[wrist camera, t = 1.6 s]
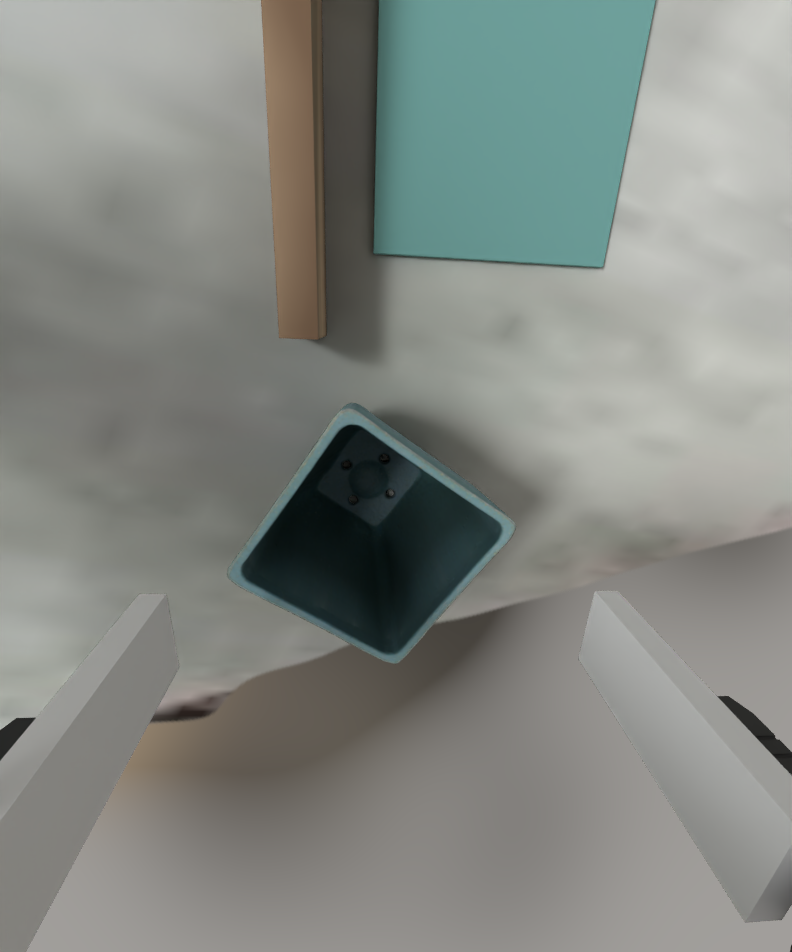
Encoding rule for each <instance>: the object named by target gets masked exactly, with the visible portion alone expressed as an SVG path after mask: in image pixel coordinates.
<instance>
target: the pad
mask: <svg viewBox="0 0 792 952" xmlns="http://www.w3.org/2000/svg"><path fill="white" fill-rule="evenodd" d="M654 5H655V0H379V18H378V65H377V111H376V158H375V205H374V251H373V254H382V255H399V256H415V257H431V258H448V259H464V260H480V261H497V262H513V263H529V264H546V265H562V266H578V267H595V268H600V267H603V264H604V259H605V254H606V249H607V244H608V239H609V234H610V229H611V224H612V219H613V214H614V209H615V204H616V198H617V193H618V188H619V183H620V178H621V173H622V168H623V163H624V158H625V153H626V148H627V143H628V137H629V132H630V127H631V122H632V117H633V112H634V107H635V102H636V97H637V92H638V87H639V82H640V77H641V71H642V66H643V61H644V56H645V51H646V46H647V41H648V36H649V31H650V26H651V21H652V16H653V10H654Z"/></svg>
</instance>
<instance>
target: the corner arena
mask: <svg viewBox="0 0 792 952" xmlns="http://www.w3.org/2000/svg"><path fill="white" fill-rule="evenodd" d="M261 6H262V25H263V44H264V63H265V81H266V100H267V119H268V138H269V157H270V175H271V194H272V213H273V232H274V251H275V269H276V288H277V307H278V326H279V338H291V339H315V340H318V339H320V338H322V337H324V336H326V335H327V324H326V256H325V189H324V122H323V54H322V0H261Z"/></svg>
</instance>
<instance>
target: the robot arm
mask: <svg viewBox="0 0 792 952" xmlns="http://www.w3.org/2000/svg"><path fill="white" fill-rule="evenodd" d="M578 659H579V661H580V663H581V664H582V665H583V667H584V669H585V670H586V672H587V674H588V675H589V677H590V678H591V680H592V682H593V683H594V685H595V686H596V688H597V689H598V691H599V693H600V694H601V696H602V697H603V699H604V700H605V702H606V704H607V705H608V707H609V708H610V710H611V712H612V713H613V715H614V716H615V718H616V719H617V721H618V723H619V724H620V726H621V727H622V729H623V731H624V732H625V734H626V735H627V737H628V738H629V740H630V742H631V743H632V745H633V746H634V748H635V750H636V751H637V753H638V754H639V756H640V757H641V759H642V761H643V762H644V764H645V765H646V767H647V768H648V770H649V772H650V773H651V775H652V776H653V778H654V779H655V781H656V783H657V784H658V786H659V787H660V789H661V790H662V792H663V794H664V795H665V797H666V799H667V800H668V802H669V803H670V805H671V806H672V808H673V810H674V811H675V813H676V814H677V816H678V817H679V819H680V821H681V822H682V823H683V825H684V827H685V829H686V830H687V832H688V833H689V835H690V836H691V838H692V839H693V841H694V843H695V844H696V846H697V848H698V849H699V851H700V852H701V854H702V855H703V857H704V859H705V860H706V862H707V863H708V865H709V866H710V868H711V870H712V871H713V873H714V874H715V876H716V878H717V879H718V881H719V882H720V884H721V885H722V887H723V889H724V890H725V892H726V893H727V895H728V897H729V898H730V900H731V901H732V903H733V904H734V906H735V908H736V909H737V911H738V912H739V914H740V915H741V917H742V919H743V920H744V922H745V923H747V922H760V921H773V920H782V919H783V917H784V916H785V914H786V913H787V911H788V910H789V908H790V906H791V905H792V752H791V751H790V750H789V749H788V748H787V747H786V746H785V745H784V744H783V743H782V742H781V741H780V740H777V739H776V738H775V735H774V734H773V733H772V732H771V731H770V730H769V729H768V728H767V727H766V726H765V725H764V724H763V723H762V722H761V721H760V720H759V719H758V718H757V717H756V716H755V715H754V714H753V713H752V712H750V711H749V710H747V709H746V708H744V707H743V706H742V705H740V704H739V703H737V702H736V701H734V700H733V699H732V698H730V697H729V696H716V695H715V694H714V692H713V691H712V690H711V689H710V688H709V687H708V686H707V685H706V684H705V683H704V682H703V681H702V680H701V679H700V678H699V677H698V675H697V674H696V673H695V672H694V671H693V670H692V669H691V668H690V667H689V666H688V665H687V664H686V663H685V662H684V661H683V660H682V658H681V657H680V656H679V655H678V654H677V653H676V652H675V651H674V650H673V649H672V648H671V647H670V646H669V645H668V644H667V642H666V641H664V639H663V638H662V637H661V636H660V635H659V634H658V633H657V632H656V631H655V630H654V629H653V628H652V627H651V625H650V624H649V623H648V622H647V621H646V620H645V619H644V618H643V617H642V616H641V615H640V614H639V613H638V612H637V611H636V610H635V608H633V606H632V605H631V604H630V603H629V602H628V601H627V600H626V599H625V598H624V597H623V596H622V595H621V594H620V593H619V591H595V593H594V597H593V601H592V605H591V609H590V613H589V617H588V621H587V625H586V629H585V633H584V637H583V641H582V645H581V649H580V653H579V657H578ZM178 669H179V662H178V656H177V650H176V645H175V639H174V634H173V628H172V622H171V617H170V611H169V606H168V600H167V595H166V594H139V595H138V596H137V597H136V598H135V599H134V601H133V602H132V603H131V604H130V606H129V607H128V608H127V609H126V610H125V612H124V613H123V614H122V615H121V616H120V618H119V619H118V620H117V621H116V622H115V624H114V625H113V626H112V627H111V628H110V630H109V631H108V632H107V633H106V634H105V636H104V637H103V638H102V639H101V640H100V642H99V643H98V644H97V645H96V646H95V648H94V649H93V650H92V651H91V652H90V654H89V655H88V656H87V657H86V658H85V660H84V661H83V662H82V663H81V664H80V666H79V667H78V668H77V669H76V670H75V672H74V673H73V674H72V675H71V676H70V678H69V679H68V680H67V681H66V682H65V684H64V685H63V686H62V687H61V688H60V690H59V691H58V692H57V693H56V695H55V696H54V697H53V698H52V699H51V701H50V702H49V703H48V704H47V705H46V707H45V708H44V709H43V710H42V711H41V713H40V714H39V715H38V716H37V717H36V718H16V719H15V720H13V721H12V722H11V723H9V724H8V725H7V726H5V727H4V728H3V729H1V730H0V952H26V951H27V949H28V947H29V945H30V943H31V941H32V940H33V938H34V936H35V934H36V932H37V930H38V929H39V927H40V925H41V923H42V921H43V919H44V917H45V916H46V914H47V912H48V910H49V908H50V906H51V904H52V903H53V901H54V899H55V897H56V895H57V893H58V891H59V889H60V888H61V886H62V884H63V882H64V880H65V878H66V876H67V875H68V873H69V871H70V869H71V867H72V865H73V863H74V861H75V860H76V858H77V856H78V854H79V852H80V850H81V849H82V847H83V845H84V843H85V841H86V839H87V837H88V836H89V834H90V832H91V830H92V828H93V826H94V824H95V823H96V820H97V819H98V817H99V815H100V813H101V811H102V809H103V808H104V806H105V804H106V802H107V800H108V799H109V796H110V795H111V793H112V791H113V789H114V787H115V786H116V784H117V782H118V780H119V778H120V776H121V774H122V773H123V771H124V769H125V767H126V765H127V763H128V761H129V760H130V758H131V756H132V754H133V752H134V750H135V748H136V746H137V745H138V743H139V741H140V739H141V737H142V735H143V734H144V732H145V730H146V728H147V726H148V724H149V722H150V721H151V719H152V717H153V715H154V713H155V711H156V709H157V708H158V706H159V704H160V702H161V700H162V698H163V696H164V695H165V693H166V691H167V689H168V687H169V685H170V683H171V682H172V680H173V678H174V676H175V674H176V672H177V670H178ZM790 952H792V945H791V950H790Z"/></svg>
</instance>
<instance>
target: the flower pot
mask: <svg viewBox="0 0 792 952" xmlns="http://www.w3.org/2000/svg"><path fill="white" fill-rule="evenodd" d="M383 454H386V455H388V457H389V460H388V461H387V462H382V461H381V459H380V457H381V455H383ZM344 461H349V462H350V463H351V467H350V468H348V469H346V468H344V467H343V462H344ZM389 489H392V490H393V491H394V495H393V496H391V497H389V496H387V495H386V491H387V490H389ZM353 495H354V496H357V498H358V501H357V502H356V503H352V502H350V500H349V498H350V496H353ZM515 529H516V525H515V523H514V521H513V520H512V519H510V518H509V517H508V516H507V515H506V514H505V513H504V512H503V511H502V510H500V509H499V508H498V507H497V506H496V505H495V504H494V503H493V502H491V501H490V500H489V499H488V498H487V497H486V496H484V495H483V494H482V493H481V492H480V491H479V490H478V489H476V488H475V487H474V486H473V485H472V484H470V483H469V482H468V481H466V480H465V479H464V478H462V477H461V476H459V475H458V474H456V473H455V472H454V471H452V470H451V469H449V468H448V467H446V466H445V465H444V464H442V463H441V462H439V461H438V460H436V459H435V458H434V457H432V456H431V455H429V454H428V453H426V452H425V451H424V450H422V449H421V448H419V447H418V446H417V445H415V444H414V443H412V442H411V441H410V440H408V439H407V438H405V437H404V436H403V435H401V434H400V433H398V432H397V431H395V430H394V429H393V428H391V427H390V426H388V425H387V424H386V423H384V422H383V421H381V420H380V419H379V418H377V417H376V416H375V415H373V414H372V413H370V412H369V411H368V410H366V409H365V408H364V407H362V406H361V405H359V404H356V403H349V404H347V405H346V406H344V407H343V408H342V409H341V410H340V411H339V412H338V413H337V414H336V415H335V417H334V418H333V419H332V420H331V422H330V423H329V425H328V426H327V428H326V430H325V431H324V433H323V434H322V435H321V437H320V438H319V440H318V441H317V443H316V444H315V446H314V447H313V449H312V450H311V451H310V453H309V455H308V456H307V457H306V459H305V460H304V462H303V463H302V465H301V466H300V468H299V469H298V470H297V472H296V473H295V475H294V476H293V478H292V479H291V481H290V482H289V483H288V485H287V486H286V488H285V489H284V491H283V492H282V493H281V495H280V496H279V498H278V499H277V500H276V502H275V503H274V505H273V506H272V508H271V509H270V511H269V512H268V513H267V515H266V516H265V518H264V519H263V520H262V522H261V523H260V525H259V526H258V527H257V529H256V530H255V531H254V533H253V534H252V536H251V537H250V538H249V540H248V541H247V543H246V544H245V545H244V547H243V548H242V549H241V551H240V552H239V554H238V555H237V556H236V558H235V559H234V560H233V562H232V563H231V565H230V566H229V568H228V571H227V576H228V578H229V579H230V580H231V581H232V582H233V583H235V584H236V585H238V586H239V587H240V588H243V589H244V590H246V591H249V592H250V593H252V594H254V595H256V596H258V597H260V598H262V599H264V600H266V601H268V602H270V603H272V604H274V605H276V606H278V607H281V608H283V609H285V610H287V611H288V612H291V613H292V614H294V615H297V616H299V617H300V618H302V619H304V620H306V621H308V622H310V623H312V624H314V625H316V626H318V627H320V628H322V629H324V630H326V631H328V632H329V633H331V634H333V635H335V636H337V637H339V638H341V639H342V640H344V641H346V642H347V643H350V644H352V645H354V646H355V647H357V648H359V649H361V650H363V651H365V652H366V653H368V654H370V655H372V656H374V657H376V658H378V659H380V660H383V661H385V662H390V663H394V664H396V663H399V662H400V661H401V660H402V659H403V658H404V657H405V656H406V655H407V654H408V653H409V652H410V651H411V649H412V648H413V647H414V646H415V645H416V644H417V643H418V642H419V640H420V639H421V638H422V637H423V636H424V635H425V634H426V632H427V631H428V630H429V628H430V627H431V626H433V624H434V623H435V621H436V620H437V619H438V618H439V617H440V616H441V615H442V614H443V613H444V611H445V610H446V609H447V608H448V607H449V606H450V605H451V604H452V603H453V601H454V600H455V599H456V598H457V597H458V596H459V595H460V593H461V592H462V591H463V590H464V589H465V588H466V587H467V586H468V585H469V584H470V582H471V581H472V580H473V579H474V578H475V577H476V576H477V574H478V573H479V572H480V571H481V570H482V569H483V568H484V567H485V566H486V564H487V563H489V561H490V560H491V559H492V558H493V557H494V556H495V555H496V554H497V553H498V552H499V551H500V550H501V549H502V548H503V547H504V546H505V545H506V544H507V542H508V541H509V540H510V538H511V537H512V535H513V534H514V531H515Z"/></svg>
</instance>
